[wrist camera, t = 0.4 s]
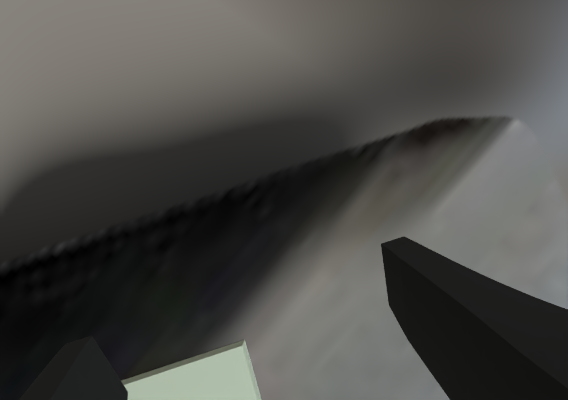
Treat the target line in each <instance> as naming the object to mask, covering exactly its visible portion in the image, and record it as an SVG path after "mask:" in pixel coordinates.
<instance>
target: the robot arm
mask: <svg viewBox="0 0 568 400" xmlns="http://www.w3.org/2000/svg"><path fill="white" fill-rule="evenodd" d="M381 247H382V255H383V263H384V270H385V278H386V286H387V293H388V301H389V306H390V308H391V310H392V311H393V313H394V315H395V317H396V319H397V321H398V323H399V325H400V326H401V328H402V330H403V332H404V334H405V335H406V337H407V339H408V341H409V342H410V343H411V345H412V346H413V348H414V349H415V351H416V352H417V354H418V355H419V356H420V358H421V359H422V361H423V362H424V363H425V365H426V366H427V368H428V369H429V371H430V372H431V373H432V375H433V376H434V378H435V379H436V380H437V382H438V383H439V385H440V386H441V387H442V389H443V390H444V392H445V393H446V394H447V396H448V397H449V399H450V400H568V309H565V308H562V307H559V306H556V305H554V304H551V303H548V302H546V301H543V300H540V299H538V298H535V297H533V296H530V295H528V294H526V293H523V292H521V291H518V290H516V289H513V288H511V287H509V286H506V285H504V284H502V283H499V282H497V281H495V280H493V279H490V278H488V277H486V276H484V275H481V274H479V273H477V272H475V271H473V270H471V269H469V268H467V267H464V266H462V265H460V264H458V263H456V262H454V261H452V260H450V259H448V258H446V257H444V256H442V255H440V254H438V253H436V252H434V251H432V250H430V249H428V248H426V247H424V246H422V245H420V244H418V243H416V242H414V241H412V240H410V239H408V238H406V237H401V238H398V239H395V240H391V241H388V242H385V243H382V244H381ZM19 400H128V391H127V390H126V388H125V386H124V385H123V383H122V382H121V380H120V379H119V377H118V376H117V374H116V372H115V371H114V369H113V368H112V366H111V365H110V363H109V362H108V360H107V359H106V357H105V355H104V354H103V352H102V351H101V349H100V348H99V346H98V345H97V343H96V342H95V340H94V338H93V337H92V336H90V337H87V338H83V339H80V340H77V341H74V342H71V343H68V344H65V346H64V347H63V348H62V349H61V350H60V351H59V352H58V353H57V354H56V356H55V357H54V358H53V359H52V360H51V361H50V363H49V364H48V365H47V366H46V367H45V369H44V370H43V371H42V372H41V373H40V375H39V376H38V377H37V378H36V380H35V381H34V382H33V383H32V385H31V386H30V387H29V388H28V389H27V391H26V392H25V393H24V394H23V396H22V397H21V398H20V399H19Z"/></svg>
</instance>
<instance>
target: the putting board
mask: <svg viewBox="0 0 568 400" xmlns="http://www.w3.org/2000/svg"><path fill="white" fill-rule="evenodd" d="M121 382H122V383H123V385H124V386H125V388H126V390H127V391H128V400H261V396H260V392H259V389H258V385H257V382H256V378H255V375H254V371H253V367H252V364H251V360H250V357H249V353H248V350H247V346H246V342H245V340H243V341H240V342H237V343H234V344H231V345H228V346H224V347H221V348H218V349H215V350H212V351H209V352H206V353H203V354H200V355H197V356H194V357H191V358H188V359H185V360H182V361H179V362H176V363H173V364H170V365H167V366H164V367H161V368H158V369H155V370H152V371H149V372H146V373H143V374H140V375H137V376H134V377H131V378H128V379H125V380H122V381H121Z"/></svg>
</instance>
